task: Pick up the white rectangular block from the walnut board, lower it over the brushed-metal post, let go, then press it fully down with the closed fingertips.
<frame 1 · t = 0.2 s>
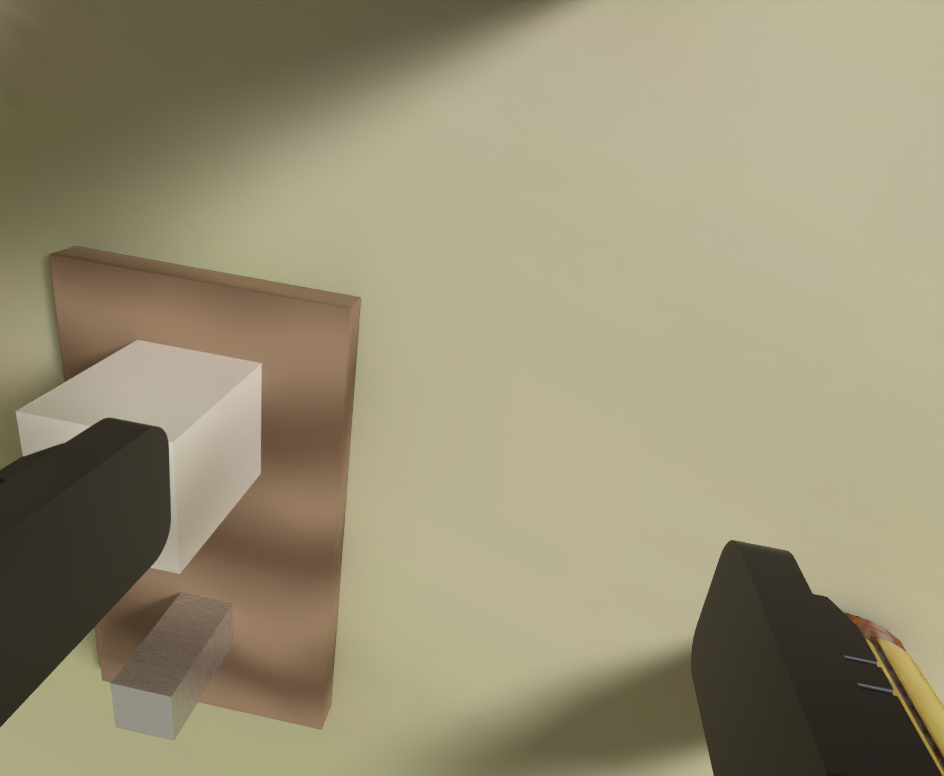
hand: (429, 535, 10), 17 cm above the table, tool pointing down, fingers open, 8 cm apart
sauce bottle: (832, 656, 31), on the table
post: (207, 618, 33), resting on board
board: (220, 507, 32), on the table
white rectangular block: (201, 408, 28), point 1 cm above the table, touching board
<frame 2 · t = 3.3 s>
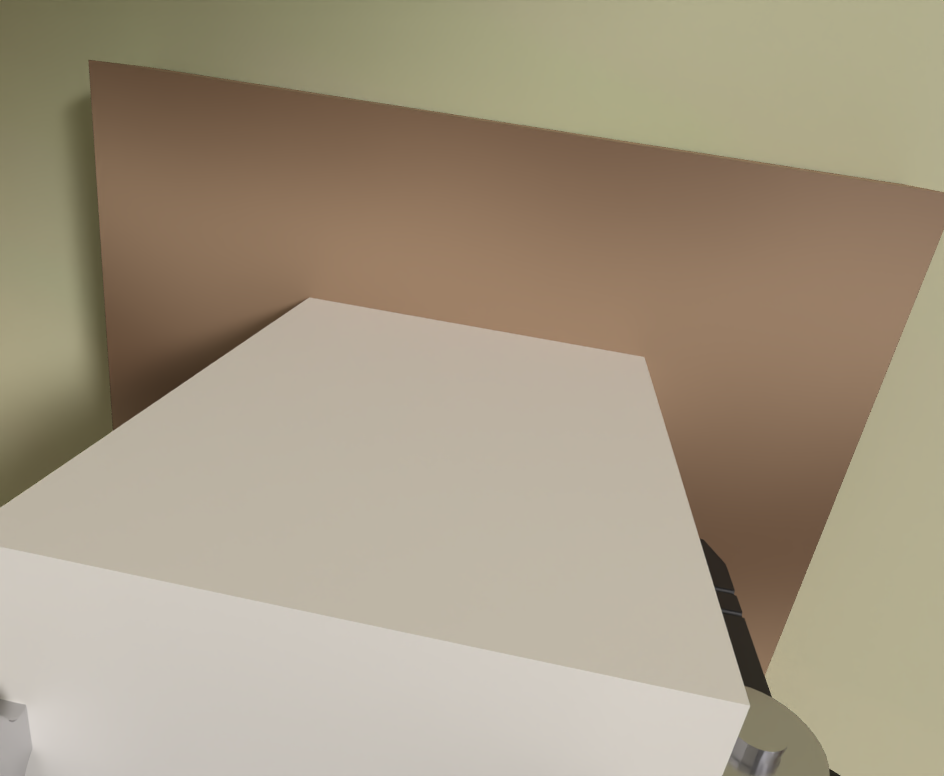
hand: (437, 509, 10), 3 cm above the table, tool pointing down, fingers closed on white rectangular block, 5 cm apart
board: (426, 677, 15), on the table
white rectangular block: (451, 474, 11), point 2 cm above the table, touching board, gripper
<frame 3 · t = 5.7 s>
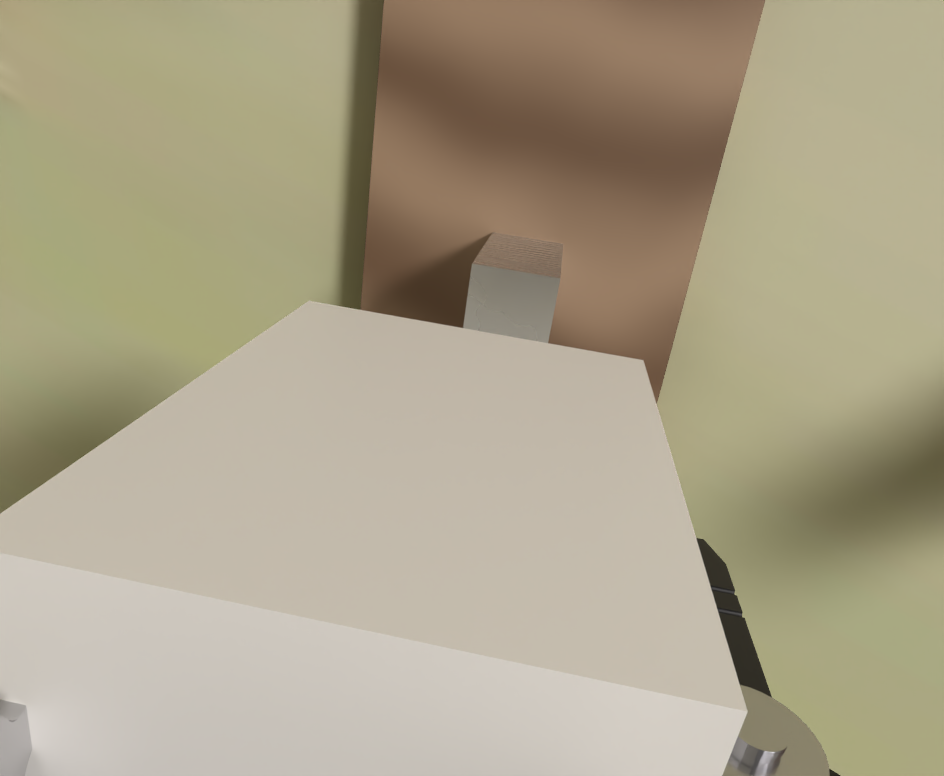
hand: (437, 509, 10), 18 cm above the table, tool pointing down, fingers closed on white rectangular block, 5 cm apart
post: (522, 272, 25), resting on board
board: (550, 114, 25), on the table
white rectangular block: (451, 477, 11), point 17 cm above the table, touching gripper
when the fingers open (4 cm above the table, at t = 8.3 s): white rectangular block drops 1 cm, resting on board.
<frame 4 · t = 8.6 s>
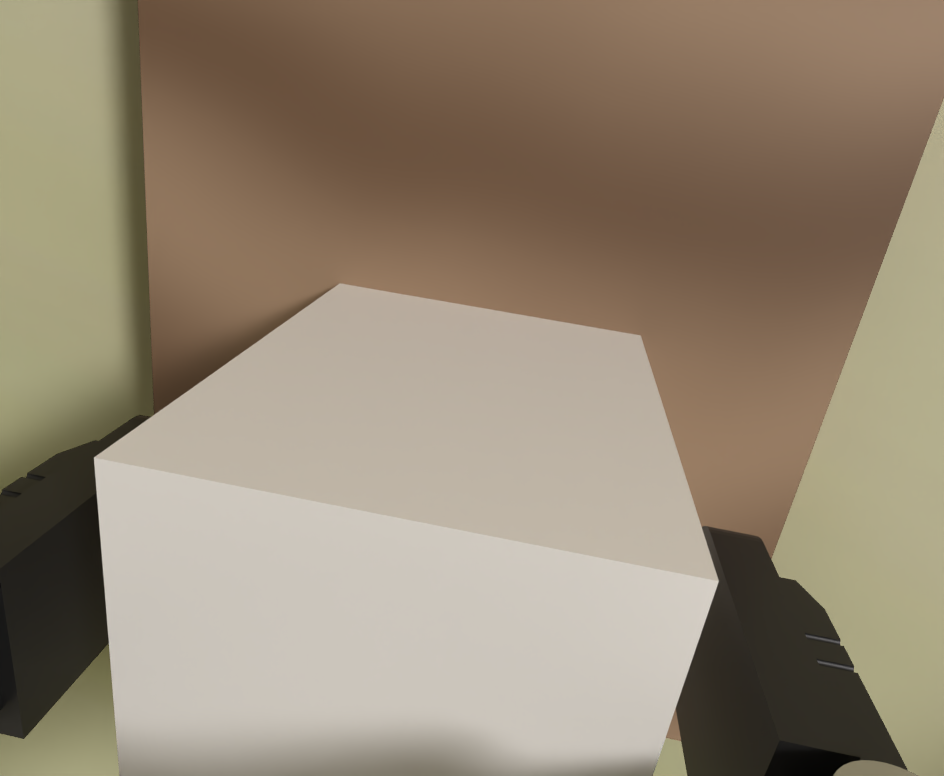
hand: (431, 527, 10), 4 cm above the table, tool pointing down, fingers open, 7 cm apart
board: (516, 123, 12), on the table
white rectangular block: (466, 444, 13), point 1 cm above the table, touching board
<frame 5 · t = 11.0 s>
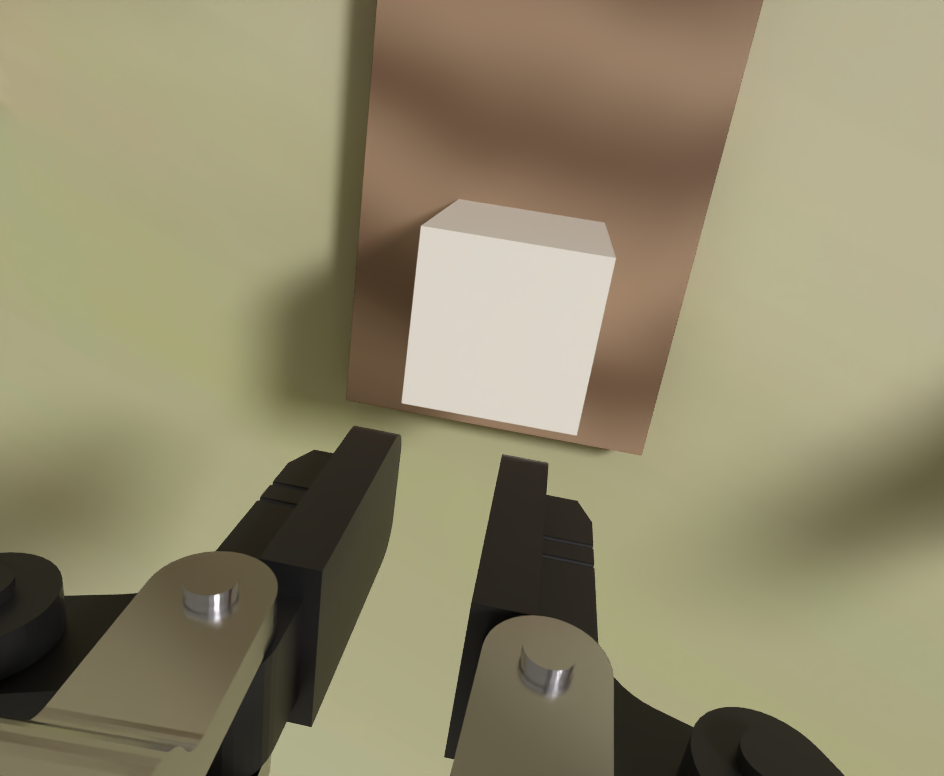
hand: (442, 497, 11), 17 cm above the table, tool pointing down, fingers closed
board: (544, 121, 24), on the table
white rectangular block: (519, 282, 25), point 1 cm above the table, touching board
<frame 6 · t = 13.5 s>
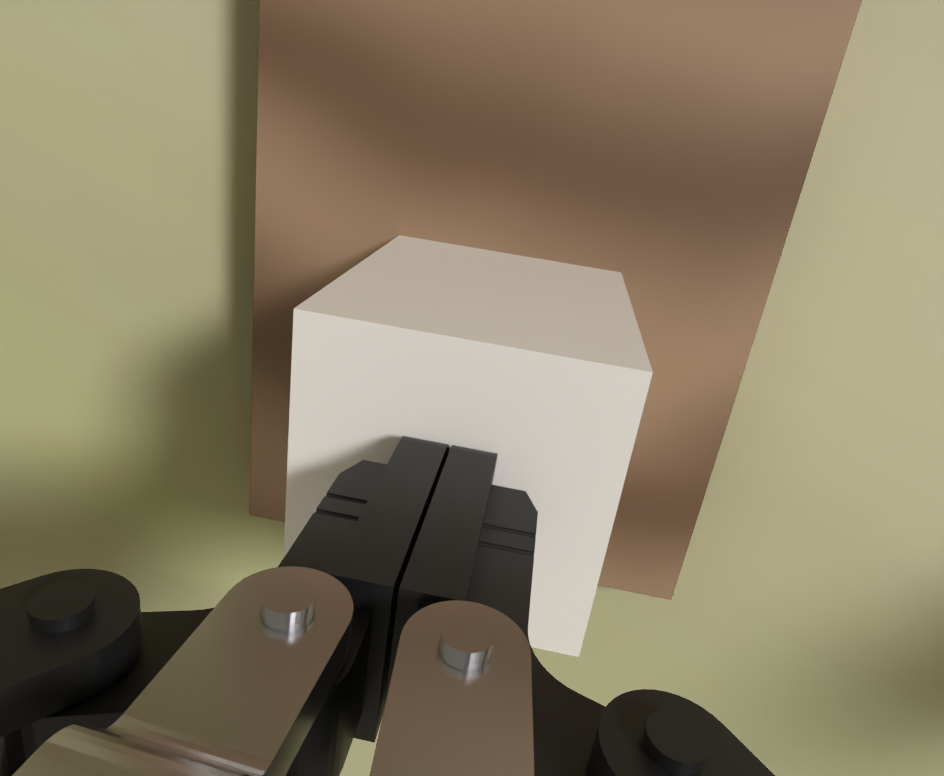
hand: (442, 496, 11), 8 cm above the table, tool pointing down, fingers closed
board: (530, 117, 16), on the table
white rectangular block: (492, 358, 17), point 1 cm above the table, touching board, gripper
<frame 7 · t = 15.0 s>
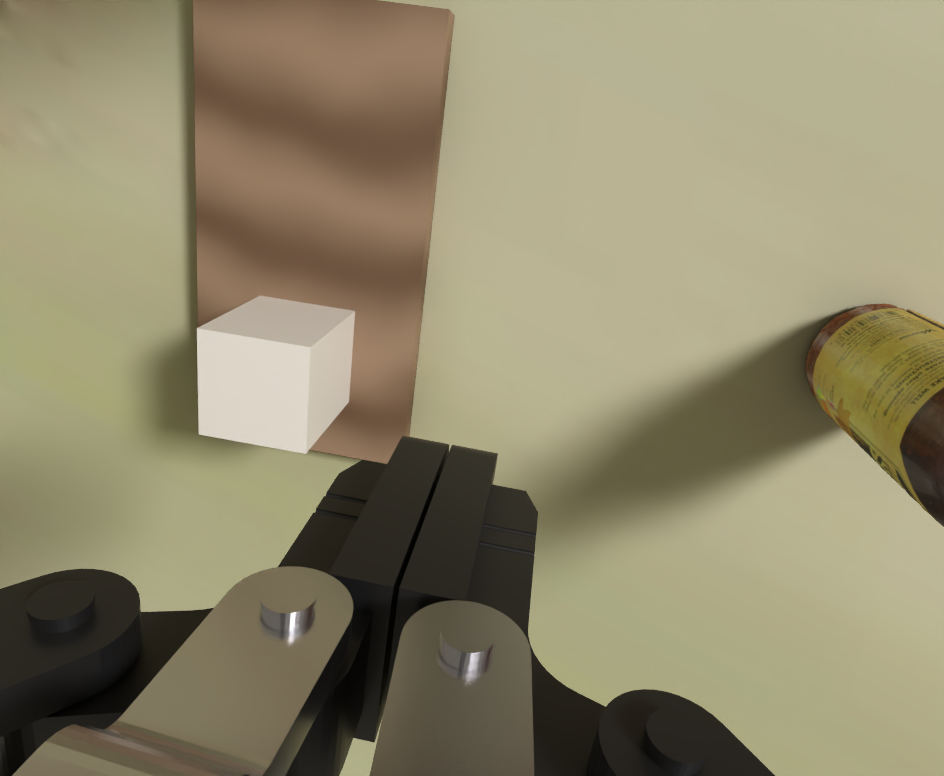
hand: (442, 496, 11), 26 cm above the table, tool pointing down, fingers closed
sauce bottle: (867, 358, 35), on the table
board: (317, 242, 36), on the table
white rectangular block: (305, 349, 37), point 1 cm above the table, touching board
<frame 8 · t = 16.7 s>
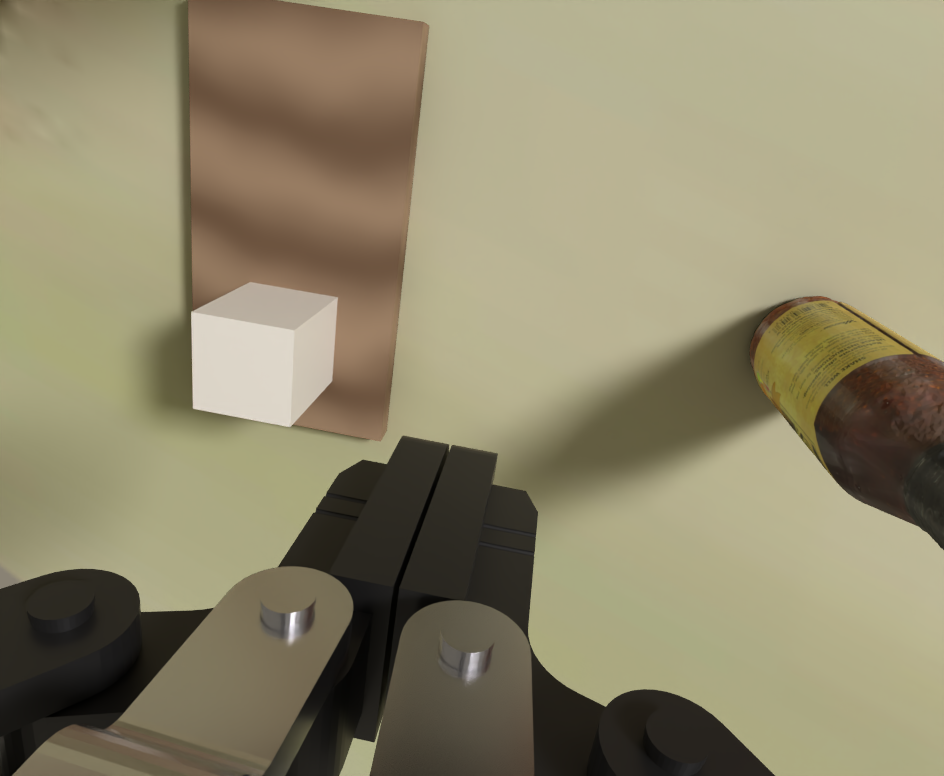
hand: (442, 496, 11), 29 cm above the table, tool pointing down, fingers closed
sauce bottle: (806, 345, 38), on the table
board: (303, 233, 39), on the table
white rectangular block: (291, 332, 40), point 1 cm above the table, touching board
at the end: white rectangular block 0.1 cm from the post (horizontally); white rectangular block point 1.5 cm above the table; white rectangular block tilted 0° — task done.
